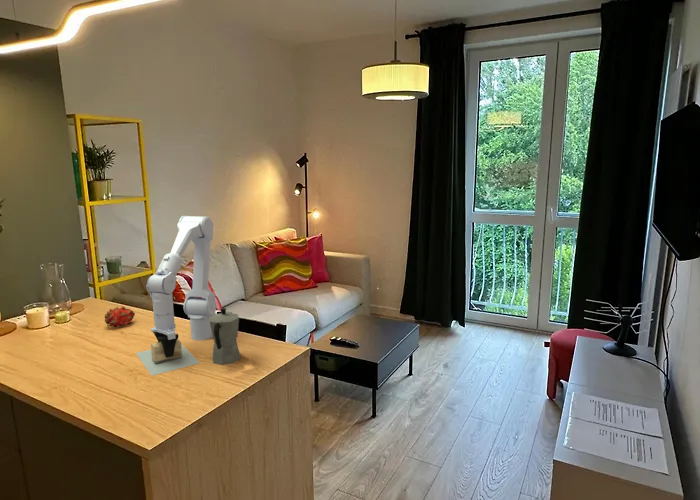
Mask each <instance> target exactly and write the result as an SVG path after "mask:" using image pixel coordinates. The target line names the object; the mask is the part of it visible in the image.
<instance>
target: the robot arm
mask: <svg viewBox="0 0 700 500" xmlns="http://www.w3.org/2000/svg"><path fill="white" fill-rule="evenodd" d="M176 226H177V228H176V229H177V235H176V237H175V239H174V243H173V245H172V246H171V247H172V248H171V250H170V252H169V253H166V254H164V256H163V258H162V260H161V262H160V263H159V266H158V267H157V269H156V271H155V273H154V274H153V275H151V276H149V277H148V279H147V283H146V285H145V286H146V287H145V288H146V290H147V292H148V293H149V297H150V299H151V301H152V312H153V321H154V322H153V323H154V327H151V328H150V331H151V333H152V334H153V335H154V336H155V338H156V340H157V342H161V344H162V346H163V350H164V354H165V356H166V358H168V357H172V356H173V355H174V349H175V344H176V341H177V339H179V334H178V333H176V323H175V311H174V301H173V292H174V290H175V289H176V285H177V284H176V282H177V274H178V273H179V270H180V269H181V266H182V265H183V259H182V256H183V254H184V252H185V251H186V249H188V248H187V247H188V246H189V244H190V243H191V241H192V242H193V244H194V250H193V251H194V252H193V266H192V267H193V269H192V270H193V271H192V286H191V289H190V290H189V291H188V292H186V293H185V297H184V298H185V299H184V302H183V306H182V307H183V311H184V312H183V313H185V315H187V318H189V321H190V322H189V323H190V324H189V325H190V336H191V340H193V341H206V340H209V339H213V335H212V331H211V326H210V322H209V317H211V316H213V315H215V314H216V310H217V302H216V294H215V293H213V292H212V291H211V290H210V289H209V278H210V276H209V275H210V258H211V257H210V255H211V241H213V235H214V223H213V220H212V219H211V218H210V216H209V215H208V216H207V215H205V216H197V215H195V216H193V215H190V216H189V215H182V216H181V217H180V218H179V220H178V223H177V225H176Z"/></svg>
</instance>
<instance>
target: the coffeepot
mask: <svg viewBox="0 0 700 500" xmlns="http://www.w3.org/2000/svg"><path fill="white" fill-rule="evenodd" d="M220 312H221V313H215V315H213V316H211V317H209V322H210V326H211V331H212V335H213V337H212V339H213V349H212V358H211V359H212V363H213V364H217V365H221V366H224V365H225V366H226V365H231V364H235V363H236V362H238V361H239V360H241V355H240V350H239V349H240V348H239V345H238V342H237V338H238V334H239V324H240V317H239V314H238V313H233V312H232V311H227V308H225V307H222V308H220Z"/></svg>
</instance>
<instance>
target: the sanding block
mask: <svg viewBox="0 0 700 500" xmlns="http://www.w3.org/2000/svg"><path fill="white" fill-rule="evenodd" d="M181 344H182V341H180V339H179V338H178V339H177V341H176V344H175V349H174V355H173V356H172V357H168V358H166V356H165V354H164V350H163V346H162V344H161V342H158V341H157V342H152V343H150V350H151V353H152V360H153V361H154V363H158V362H163V361H167V360H172V359H177V358H181V357H182V349H181Z"/></svg>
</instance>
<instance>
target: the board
mask: <svg viewBox="0 0 700 500" xmlns="http://www.w3.org/2000/svg"><path fill="white" fill-rule="evenodd" d="M181 349H182V357H181V358H177V359H172V360H167V361H163V362H158V363H154V361H153V360H152V353H151V349H148V350H142V351H140V352H135V354H136V356H137V357H138V359H139V360H140V361H141V363H142V364H143V366H144V368H145V369H146V370H147V372H148V373H149V374H150V376H152V377H153V376H156V375H161V374H163V373H167V372H171V371H175V370H179V369H182V368H186V367H190V366H193V365H197V364H200V361H199V360H198V359H197V358H196V357H195V356H194V355H193V354H192V353H190V351H189V350H188V349H187V348H186V347H185V346H184V345H183V344H182V343H181Z"/></svg>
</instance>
